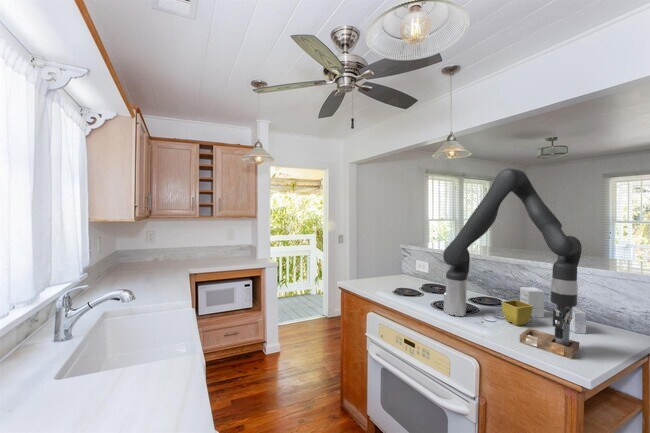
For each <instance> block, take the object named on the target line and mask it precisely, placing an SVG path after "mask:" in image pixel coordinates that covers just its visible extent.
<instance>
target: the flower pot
mask: <svg viewBox="0 0 650 433" xmlns="http://www.w3.org/2000/svg"><path fill="white" fill-rule="evenodd" d="M500 303H501V310H502V315H503V316H504V319H505V320H506V321H507V322H508V321H509V322H508V323H510V322H512V323H513V324H512V323H511V324H512V325H514V324H515V325H514V326H517V327H518V326H523V325H527V324H528V323H529V321H530V320H531V318H532V317H531V314H532V309H533V306H532V305H529V304H526V303H523V302H520V300H517V299H514V300H506V301H501V302H500Z"/></svg>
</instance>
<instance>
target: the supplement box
mask: <svg viewBox="0 0 650 433" xmlns="http://www.w3.org/2000/svg"><path fill="white" fill-rule="evenodd" d="M545 294H546V292H545V291H544V290H542V289H540V288H537V287H535V286H534V287H533V286H532V287H530V286H529V287H528V286H527V287H524V286H521V287H520V294H519V295H520V296H519V297H520V298H519V299H520V300H519V301H520V302H523V303H526V304H529V305H532V306H533V309H532V314H531V316H537V317H536V318H545Z"/></svg>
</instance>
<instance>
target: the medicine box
mask: <svg viewBox="0 0 650 433" xmlns="http://www.w3.org/2000/svg"><path fill="white" fill-rule="evenodd" d="M569 323H570V331H571V332H573V333H574V334H584V335H586V333H587V313H586V312H584V311H582V310H581V309H578V308H577V307H576V306H575V307H572V320H571V322H569Z"/></svg>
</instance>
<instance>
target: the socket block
mask: <svg viewBox="0 0 650 433" xmlns="http://www.w3.org/2000/svg"><path fill="white" fill-rule="evenodd" d="M519 343H520V344H524V345H527V346H530V347H533V348H537V349H539V350H542V351H546V352H548V353H551V352H552V354H554V355H555V354H556V355H558V356H562V357H565V358H567V359H570V360H572V359H573V358H575V356H576V355H577V354H578V352H580V342H579V341H575V340H572V339H569V347H567V346H564V345H561V344H557V343H555V334H551V333H548V332H544V331H541V330H538V329H534V328H530V327H528V328H527V329H526V330H524V331H523V332H521V333H520V334H519Z"/></svg>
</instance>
